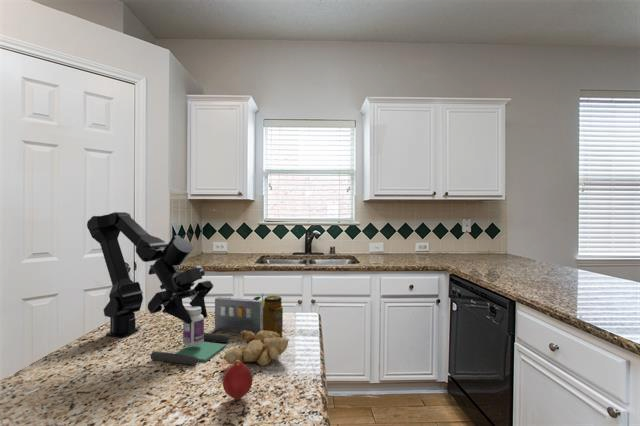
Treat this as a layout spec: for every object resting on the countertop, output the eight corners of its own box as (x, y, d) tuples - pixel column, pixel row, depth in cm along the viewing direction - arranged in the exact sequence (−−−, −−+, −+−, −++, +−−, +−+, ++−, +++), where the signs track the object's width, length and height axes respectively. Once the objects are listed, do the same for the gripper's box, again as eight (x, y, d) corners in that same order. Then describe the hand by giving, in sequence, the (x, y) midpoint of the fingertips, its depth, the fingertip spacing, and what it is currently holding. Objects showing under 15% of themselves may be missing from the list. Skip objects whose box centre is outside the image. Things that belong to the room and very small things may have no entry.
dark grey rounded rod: (150, 360, 82) (150, 352, 82) (156, 357, 84) (156, 349, 84) (194, 366, 79) (195, 358, 79) (199, 363, 81) (199, 355, 81)
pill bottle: (203, 338, 92) (203, 304, 93) (204, 345, 87) (204, 309, 88) (183, 341, 90) (183, 306, 91) (182, 348, 85) (183, 311, 86)
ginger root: (293, 340, 93) (291, 315, 91) (286, 380, 77) (284, 351, 76) (239, 341, 93) (237, 316, 92) (222, 381, 78) (218, 352, 76)
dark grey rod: (188, 339, 97) (188, 332, 97) (192, 336, 99) (192, 330, 99) (227, 343, 94) (227, 336, 94) (230, 341, 95) (230, 334, 96)
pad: (171, 357, 84) (171, 355, 84) (195, 343, 94) (195, 341, 94) (205, 362, 82) (205, 359, 82) (226, 346, 91) (226, 344, 91)
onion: (226, 392, 68) (226, 353, 68) (253, 390, 68) (254, 353, 68) (220, 408, 62) (220, 366, 62) (250, 407, 62) (250, 365, 63)
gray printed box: (213, 330, 104) (213, 299, 104) (218, 327, 107) (218, 297, 107) (258, 335, 100) (258, 302, 100) (262, 331, 103) (262, 300, 103)
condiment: (279, 331, 104) (280, 293, 104) (289, 340, 96) (289, 300, 96) (257, 334, 101) (257, 296, 101) (265, 344, 93) (265, 302, 93)
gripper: (155, 261, 82) (187, 310, 77) (209, 254, 99) (237, 293, 94) (134, 289, 85) (163, 338, 81) (189, 277, 102) (216, 317, 97)
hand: (198, 319), depth 88 cm, fingers closed on pill bottle, 5 cm apart
